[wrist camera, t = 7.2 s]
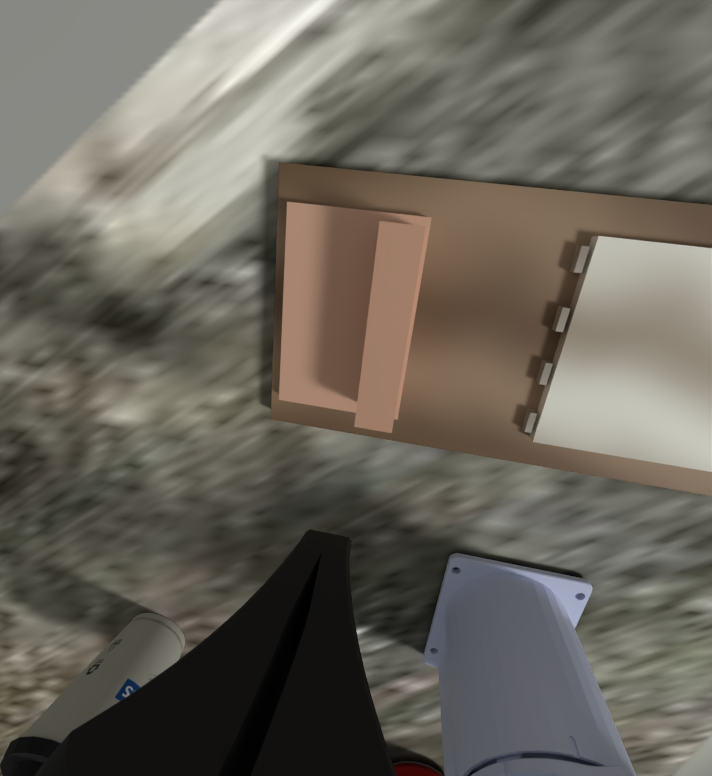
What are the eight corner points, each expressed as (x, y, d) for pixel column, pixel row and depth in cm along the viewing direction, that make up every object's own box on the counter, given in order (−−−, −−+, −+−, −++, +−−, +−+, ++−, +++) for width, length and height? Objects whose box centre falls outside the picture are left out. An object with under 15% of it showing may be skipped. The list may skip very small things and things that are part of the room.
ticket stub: (398, 414, 19) (394, 444, 16) (282, 395, 19) (259, 420, 16) (431, 218, 15) (434, 210, 12) (291, 203, 16) (264, 192, 13)
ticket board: (744, 492, 18) (774, 513, 17) (277, 411, 21) (266, 423, 19) (899, 228, 14) (956, 225, 12) (287, 167, 16) (274, 159, 15)
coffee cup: (122, 653, 31) (-5, 826, 21) (112, 592, 28) (-37, 758, 19) (201, 673, 30) (104, 861, 21) (197, 612, 28) (86, 794, 18)
